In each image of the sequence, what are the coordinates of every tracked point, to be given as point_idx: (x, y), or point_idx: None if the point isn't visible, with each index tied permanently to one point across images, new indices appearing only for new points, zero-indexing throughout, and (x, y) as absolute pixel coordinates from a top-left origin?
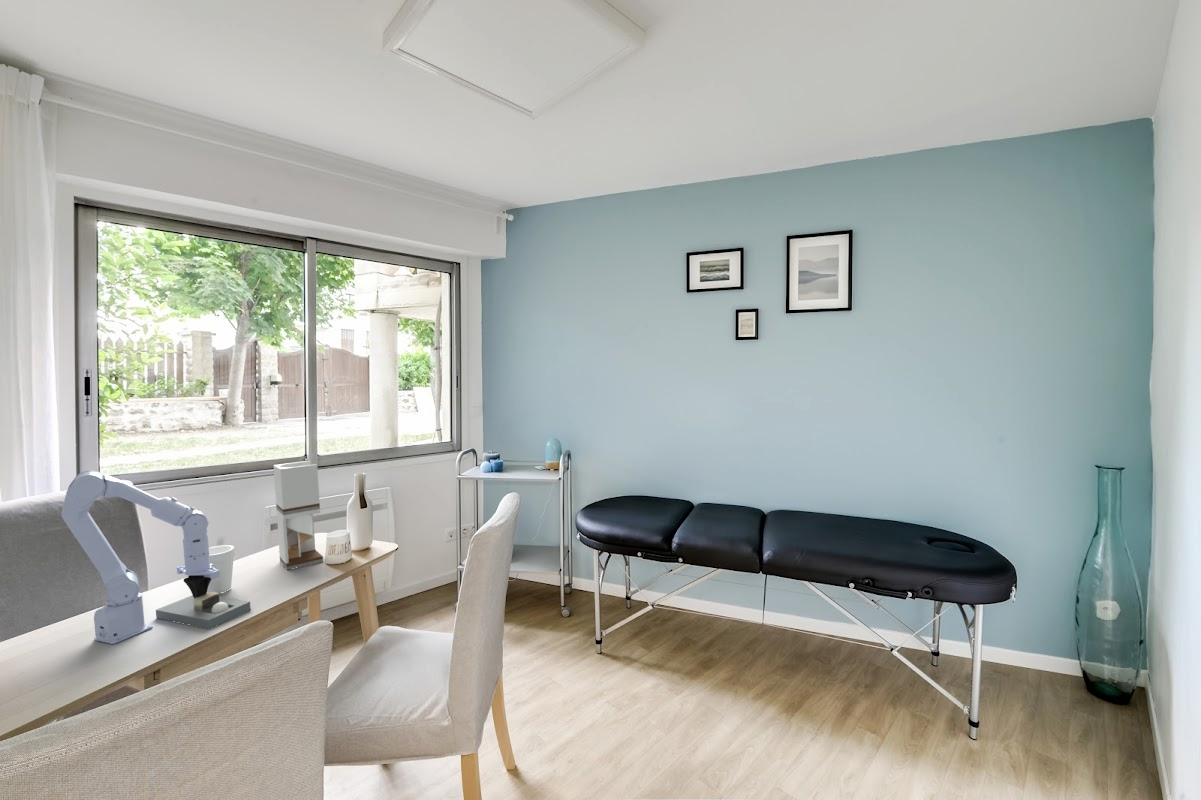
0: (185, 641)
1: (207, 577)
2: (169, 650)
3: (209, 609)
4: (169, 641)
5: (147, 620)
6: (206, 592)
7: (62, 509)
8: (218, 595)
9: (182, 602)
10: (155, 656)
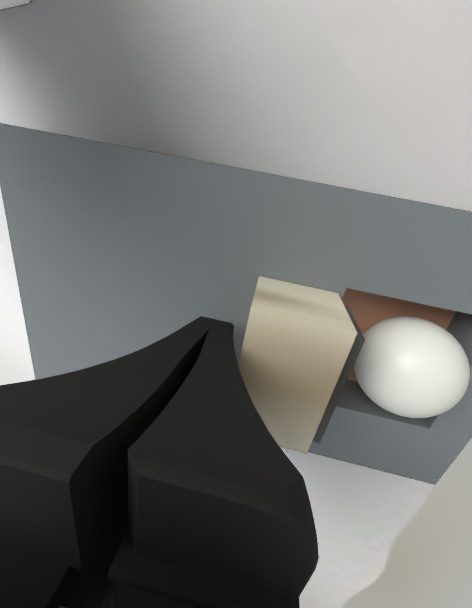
0: (379, 507)
1: (287, 591)
2: (367, 545)
3: None
4: (313, 502)
5: None
6: (234, 348)
7: None
8: (361, 339)
9: (66, 295)
10: (349, 564)
